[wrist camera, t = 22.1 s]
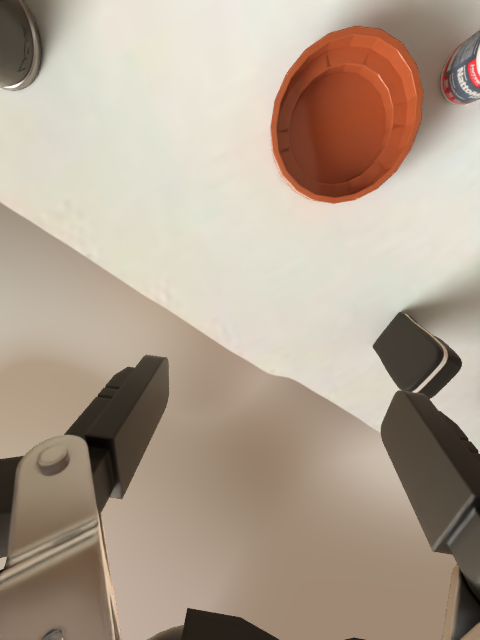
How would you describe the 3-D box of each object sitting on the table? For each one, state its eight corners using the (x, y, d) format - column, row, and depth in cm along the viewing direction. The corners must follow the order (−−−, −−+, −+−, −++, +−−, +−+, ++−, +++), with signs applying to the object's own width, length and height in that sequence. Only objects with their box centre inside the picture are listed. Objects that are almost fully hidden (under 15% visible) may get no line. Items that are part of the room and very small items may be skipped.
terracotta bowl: (250, 166, 33) (247, 163, 29) (315, 20, 27) (322, -10, 23) (349, 222, 35) (360, 226, 31) (431, 94, 29) (457, 78, 25)
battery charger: (391, 356, 42) (430, 410, 32) (369, 346, 42) (401, 397, 31) (422, 319, 39) (476, 365, 29) (399, 308, 39) (445, 350, 28)
